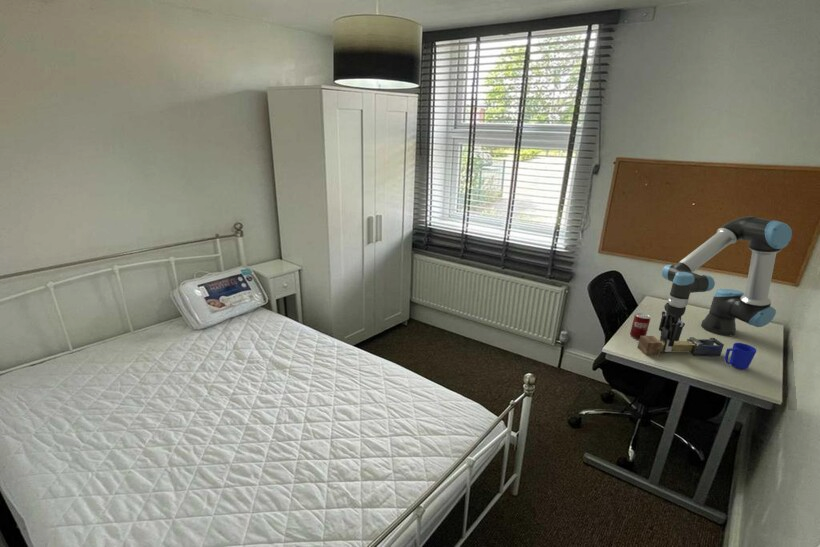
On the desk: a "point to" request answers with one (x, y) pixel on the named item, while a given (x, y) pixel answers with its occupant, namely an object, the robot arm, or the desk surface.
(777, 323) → the desk surface
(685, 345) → the hammer
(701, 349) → the sleeve
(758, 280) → the robot arm
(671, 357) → the desk surface
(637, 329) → the soda can
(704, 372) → the desk surface
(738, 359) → the mug
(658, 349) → the socket
